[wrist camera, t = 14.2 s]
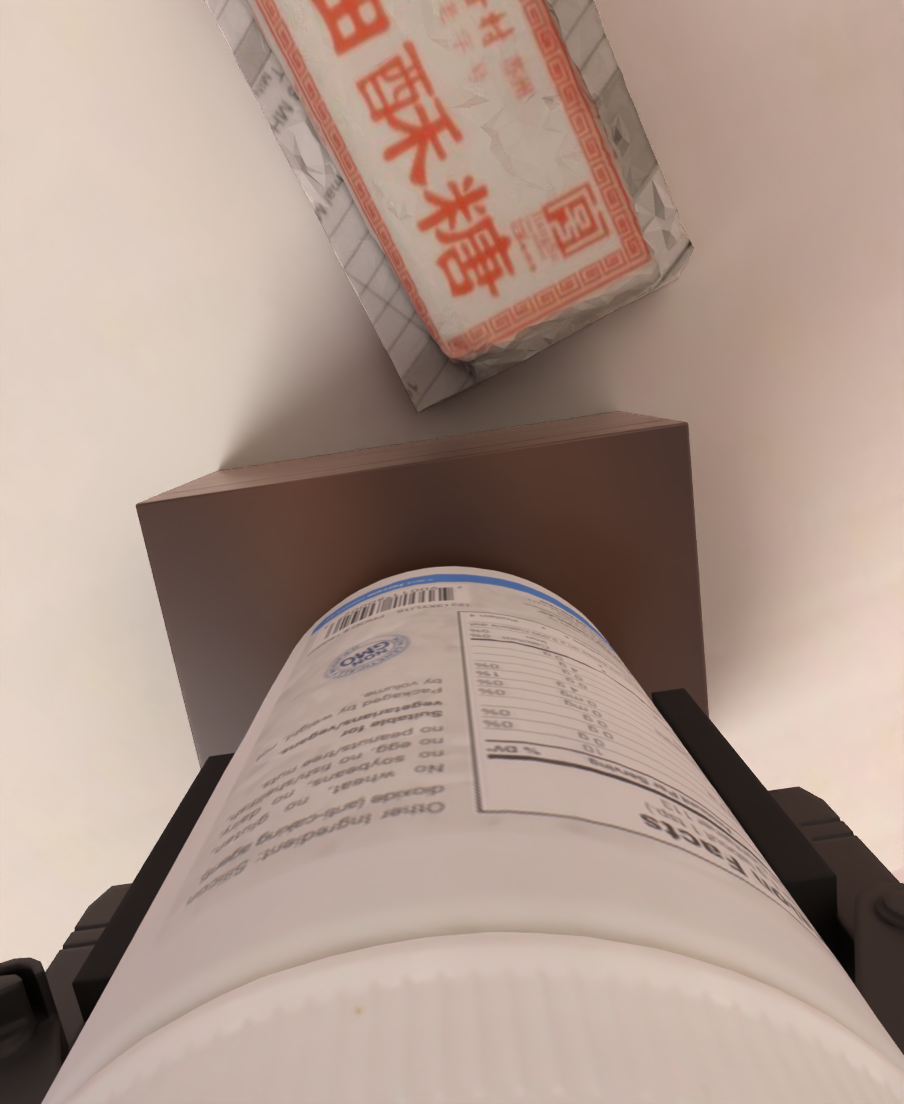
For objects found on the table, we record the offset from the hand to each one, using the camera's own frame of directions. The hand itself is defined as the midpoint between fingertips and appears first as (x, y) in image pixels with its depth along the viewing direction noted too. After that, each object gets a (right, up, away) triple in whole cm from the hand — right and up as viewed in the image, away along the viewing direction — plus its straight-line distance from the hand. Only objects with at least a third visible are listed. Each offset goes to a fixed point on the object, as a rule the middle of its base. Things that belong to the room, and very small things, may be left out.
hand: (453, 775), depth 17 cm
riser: (0, +2, +10) cm, 10 cm away
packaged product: (-1, +20, +6) cm, 21 cm away
